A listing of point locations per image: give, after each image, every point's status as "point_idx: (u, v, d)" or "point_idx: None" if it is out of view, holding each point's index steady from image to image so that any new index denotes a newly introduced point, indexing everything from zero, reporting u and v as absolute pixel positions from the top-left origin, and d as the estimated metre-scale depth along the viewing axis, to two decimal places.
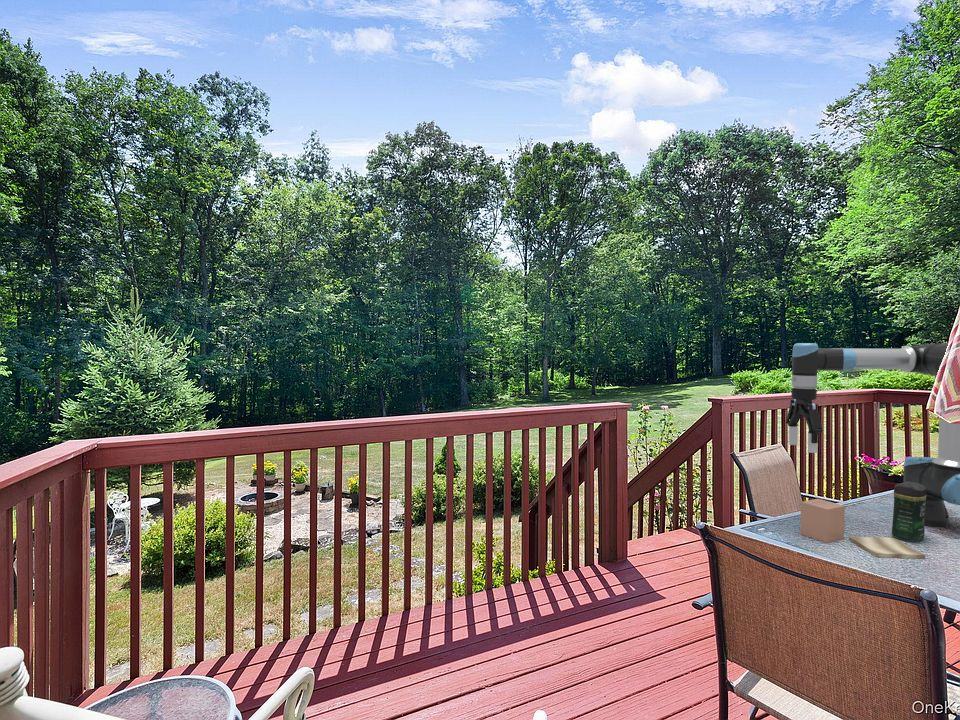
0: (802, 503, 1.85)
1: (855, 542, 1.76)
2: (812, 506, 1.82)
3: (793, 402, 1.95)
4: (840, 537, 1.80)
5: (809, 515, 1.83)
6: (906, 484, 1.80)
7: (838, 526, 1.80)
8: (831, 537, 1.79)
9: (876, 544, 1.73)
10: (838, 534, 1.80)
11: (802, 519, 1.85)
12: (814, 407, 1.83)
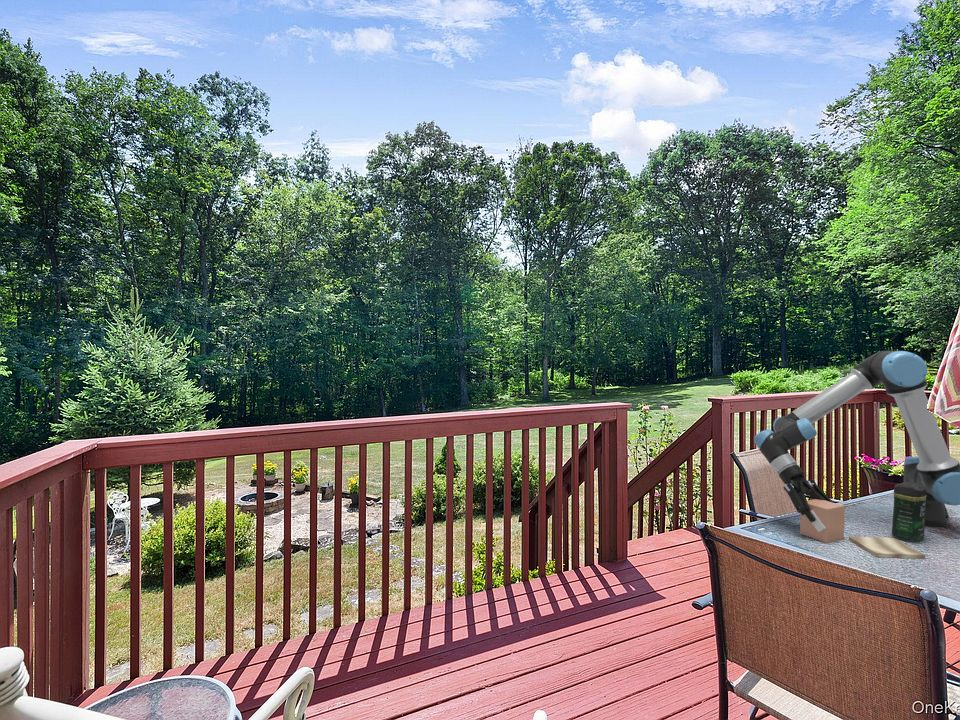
0: None
1: (855, 542, 1.76)
2: (812, 506, 1.82)
3: None
4: (840, 537, 1.80)
5: None
6: (906, 484, 1.80)
7: (838, 526, 1.80)
8: (831, 537, 1.79)
9: (876, 544, 1.73)
10: (838, 534, 1.80)
11: (802, 519, 1.85)
12: (788, 488, 1.87)
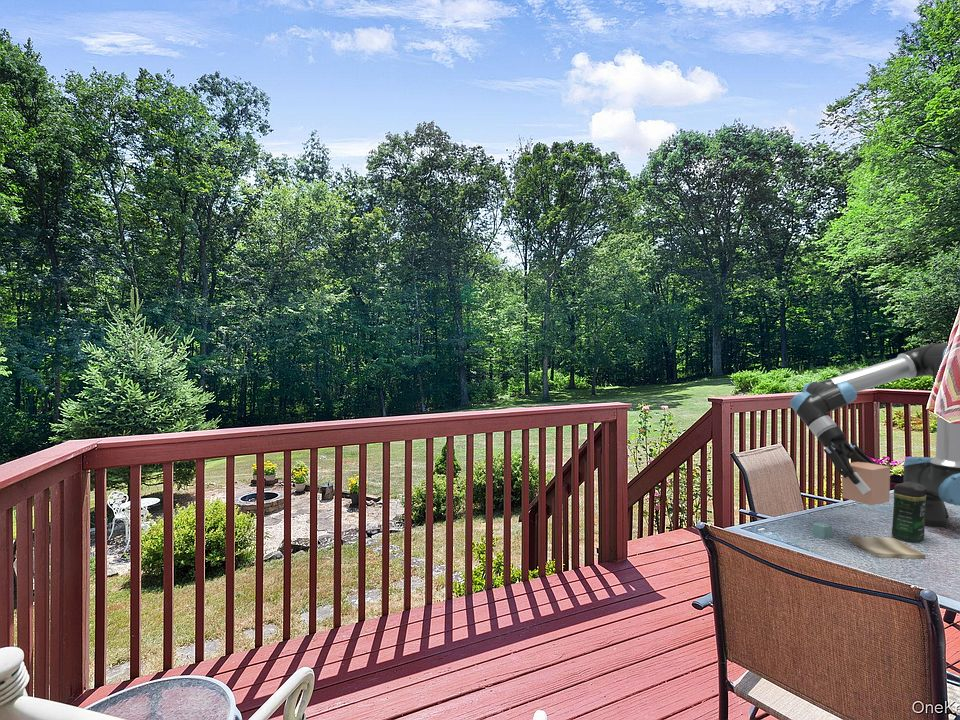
0: None
1: (855, 542, 1.76)
2: (855, 468, 1.73)
3: None
4: (885, 500, 1.72)
5: None
6: (906, 484, 1.80)
7: (883, 488, 1.71)
8: (876, 500, 1.70)
9: (876, 544, 1.73)
10: (883, 496, 1.71)
11: (844, 482, 1.76)
12: (828, 450, 1.79)
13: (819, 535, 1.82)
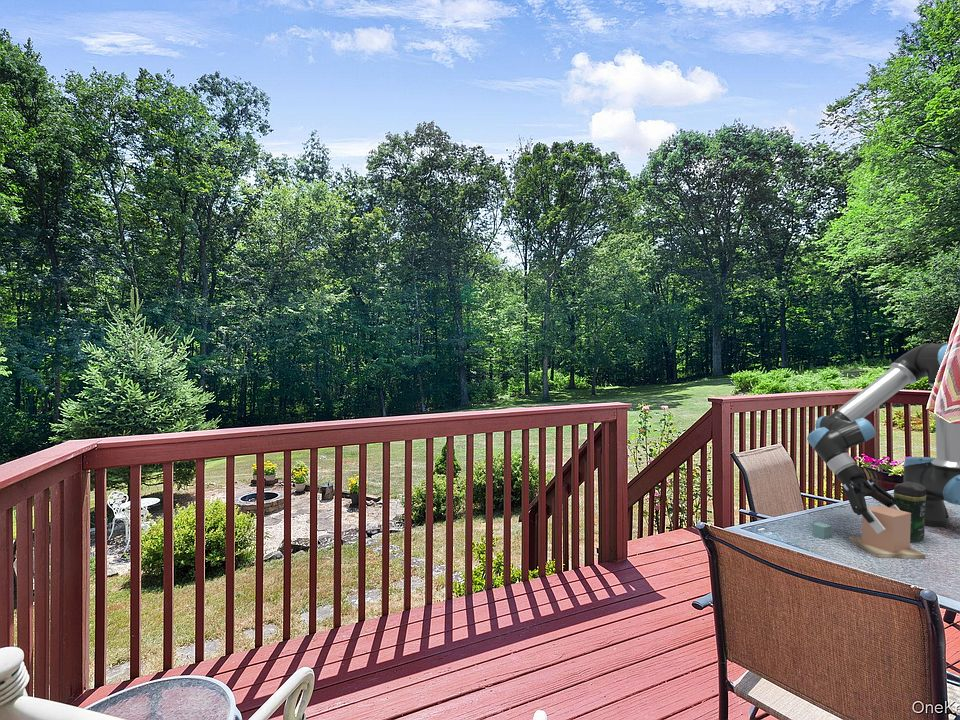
0: None
1: (855, 542, 1.76)
2: (876, 513, 1.71)
3: None
4: (906, 546, 1.69)
5: None
6: (906, 484, 1.80)
7: (904, 535, 1.69)
8: (897, 547, 1.67)
9: None
10: (904, 543, 1.69)
11: (864, 527, 1.74)
12: (846, 487, 1.76)
13: (819, 535, 1.82)
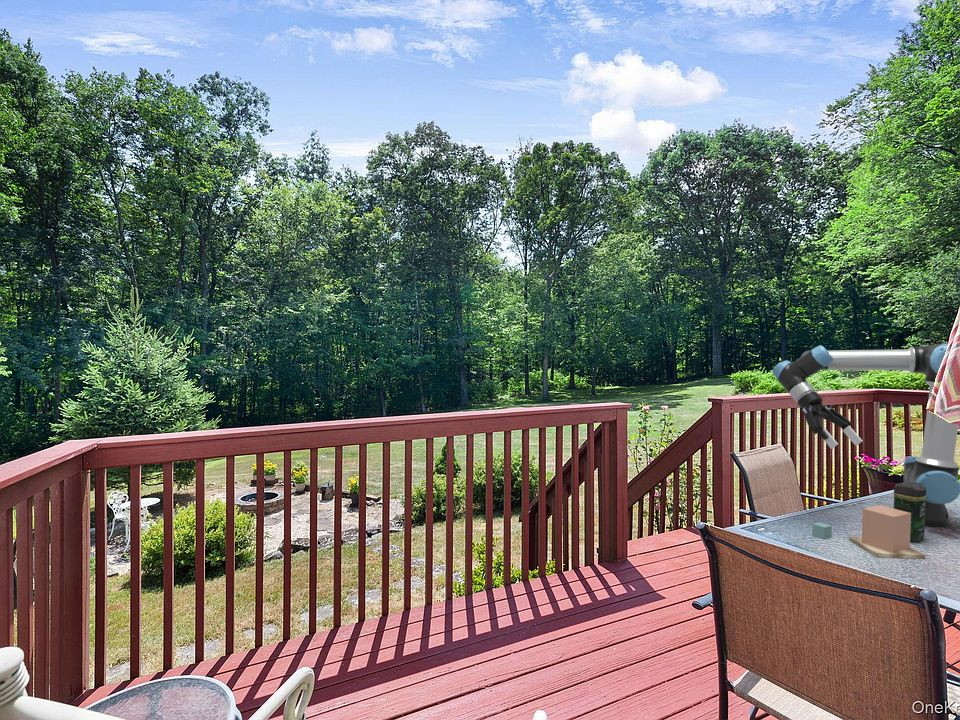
0: (864, 510, 1.74)
1: (855, 542, 1.76)
2: (876, 513, 1.71)
3: None
4: (906, 546, 1.69)
5: (872, 523, 1.71)
6: (906, 484, 1.80)
7: (904, 535, 1.69)
8: (897, 547, 1.67)
9: None
10: (904, 543, 1.69)
11: (864, 527, 1.74)
12: (805, 410, 1.95)
13: (819, 535, 1.82)
